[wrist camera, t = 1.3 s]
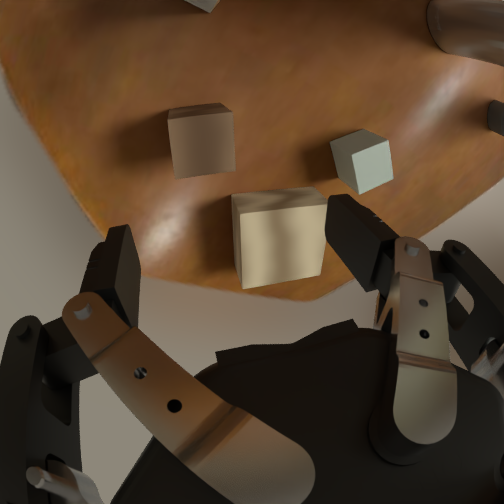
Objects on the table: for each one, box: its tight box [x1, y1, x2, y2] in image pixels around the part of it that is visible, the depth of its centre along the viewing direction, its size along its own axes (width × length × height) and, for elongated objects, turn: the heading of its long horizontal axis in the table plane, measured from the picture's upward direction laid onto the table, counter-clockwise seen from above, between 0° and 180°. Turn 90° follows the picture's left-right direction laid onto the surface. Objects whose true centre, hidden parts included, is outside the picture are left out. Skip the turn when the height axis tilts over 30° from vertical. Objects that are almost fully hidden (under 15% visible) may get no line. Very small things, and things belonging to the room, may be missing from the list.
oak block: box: [231, 187, 328, 289], centre depth 34 cm, size 10×10×5 cm
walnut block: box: [168, 103, 236, 179], centre depth 24 cm, size 5×5×7 cm
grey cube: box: [330, 129, 393, 195], centre depth 31 cm, size 5×5×5 cm
